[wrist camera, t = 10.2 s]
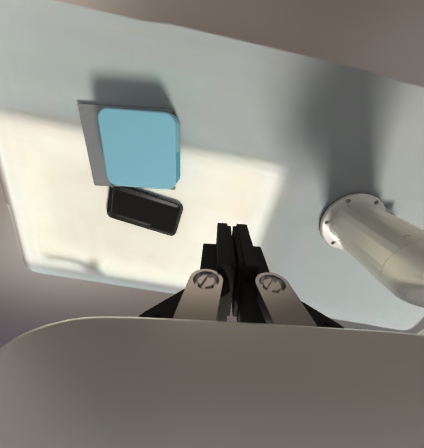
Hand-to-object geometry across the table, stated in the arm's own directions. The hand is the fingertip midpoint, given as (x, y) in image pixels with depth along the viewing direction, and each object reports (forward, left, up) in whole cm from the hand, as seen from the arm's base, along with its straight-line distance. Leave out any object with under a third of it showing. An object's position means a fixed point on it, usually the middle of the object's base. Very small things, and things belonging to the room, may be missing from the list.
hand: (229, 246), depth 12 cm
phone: (+16, +10, -30) cm, 35 cm away
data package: (+8, -2, -26) cm, 27 cm away
